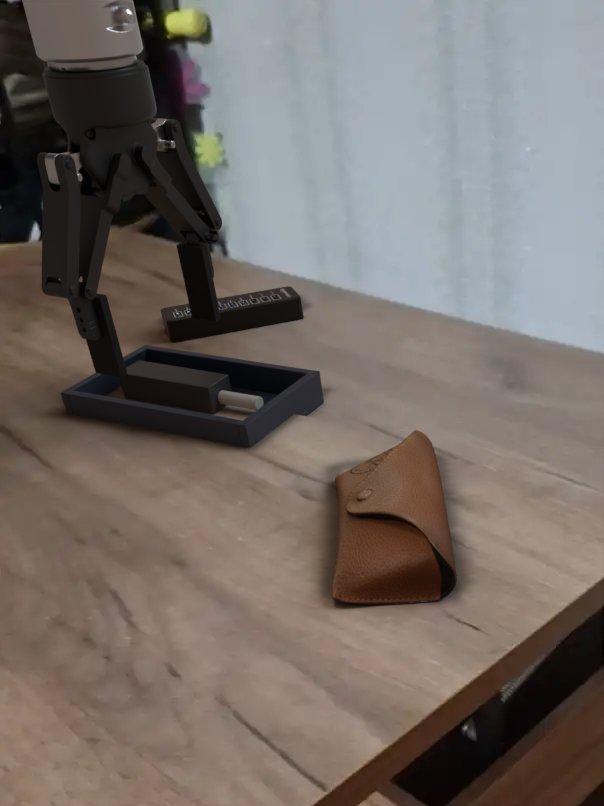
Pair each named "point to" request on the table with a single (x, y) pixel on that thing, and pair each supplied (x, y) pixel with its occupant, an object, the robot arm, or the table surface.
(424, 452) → the sunglasses case
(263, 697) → the table surface
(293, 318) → the multiport hub
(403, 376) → the table surface
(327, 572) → the table surface
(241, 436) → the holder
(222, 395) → the black block with peg
